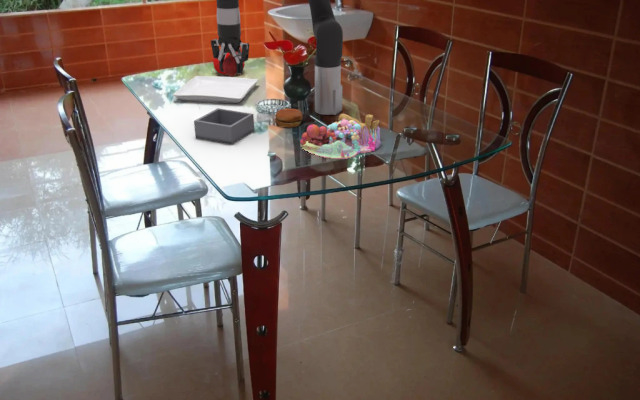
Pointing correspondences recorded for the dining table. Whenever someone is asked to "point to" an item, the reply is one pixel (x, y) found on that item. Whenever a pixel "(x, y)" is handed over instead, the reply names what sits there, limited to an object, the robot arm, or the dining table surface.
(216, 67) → the tomato
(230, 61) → the onion
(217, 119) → the bin
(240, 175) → the dining table surface
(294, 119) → the burger
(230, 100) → the square plate
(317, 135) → the candy dessert platter
